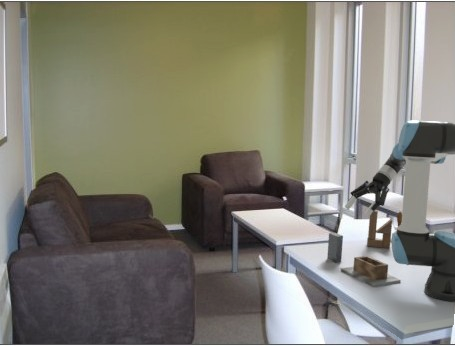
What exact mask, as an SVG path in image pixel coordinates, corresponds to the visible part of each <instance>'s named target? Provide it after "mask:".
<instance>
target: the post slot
mask: <svg viewBox="0 0 455 346" xmlns="http://www.w3.org/2000/svg"><path fill="white" fill-rule="evenodd" d="M388 271H389V264H388V263H386V262H384V261H380V260H378V259H376V258H373V257H371V256H369V255H363V256H356V257H354V259H353V266H349V267H341V268H340V272H343V273H345V274H346V275H348V276H351V277H353V278H354V279H357V280H359V281H361V282H362V283H365V284H367V285H368V286H370V287H373V288H375V287H381V286H387V285H392V284H398V283H401V281H402V280H401V279H400V278H398V277H395V276H394V275H391V274H389V273H388Z"/></svg>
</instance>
